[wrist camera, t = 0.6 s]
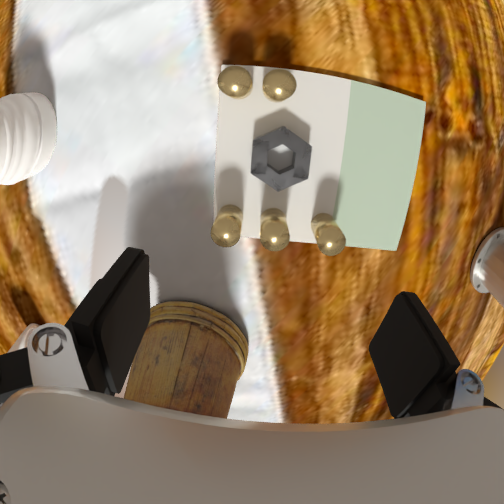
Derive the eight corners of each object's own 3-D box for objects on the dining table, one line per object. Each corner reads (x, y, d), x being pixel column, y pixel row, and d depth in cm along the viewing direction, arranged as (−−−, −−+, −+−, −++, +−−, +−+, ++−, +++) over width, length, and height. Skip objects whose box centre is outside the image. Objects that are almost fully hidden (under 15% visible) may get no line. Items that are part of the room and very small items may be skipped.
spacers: (354, 89, 25) (371, 85, 21) (332, 237, 34) (342, 256, 29) (225, 73, 25) (218, 65, 21) (217, 227, 34) (210, 246, 29)
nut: (310, 129, 28) (314, 130, 26) (303, 189, 31) (306, 194, 29) (254, 123, 28) (254, 123, 26) (249, 184, 31) (249, 189, 29)
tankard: (271, 337, 43) (274, 494, 21) (197, 397, 52) (178, 506, 30) (169, 276, 38) (98, 440, 16) (118, 355, 47) (72, 465, 25)
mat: (422, 102, 26) (425, 102, 25) (393, 248, 35) (396, 250, 34) (222, 65, 26) (221, 64, 25) (213, 232, 35) (212, 234, 34)
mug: (56, 324, 45) (31, 361, 35) (58, 356, 50) (38, 389, 40) (26, 304, 43) (-1, 337, 34) (31, 338, 48) (9, 369, 39)
